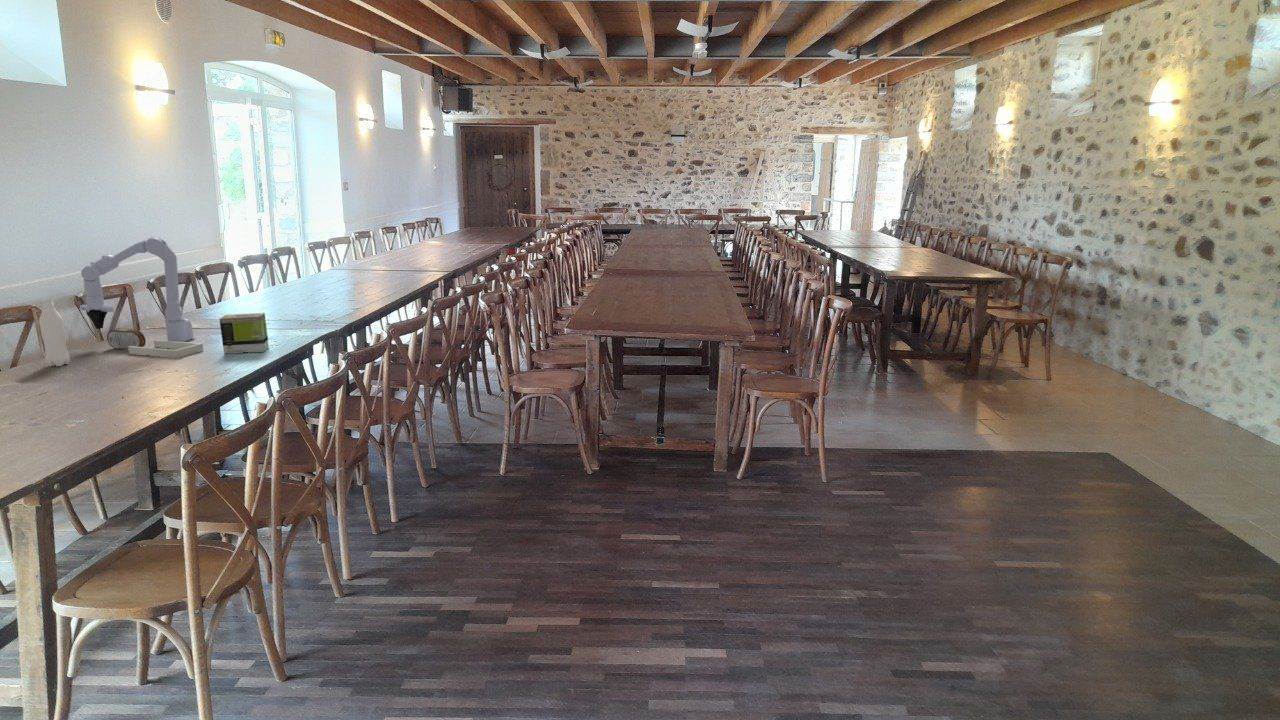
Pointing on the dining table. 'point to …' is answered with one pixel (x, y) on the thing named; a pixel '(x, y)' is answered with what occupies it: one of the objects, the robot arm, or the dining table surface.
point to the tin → (125, 338)
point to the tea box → (244, 333)
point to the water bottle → (53, 335)
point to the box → (182, 347)
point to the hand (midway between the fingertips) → (99, 328)
